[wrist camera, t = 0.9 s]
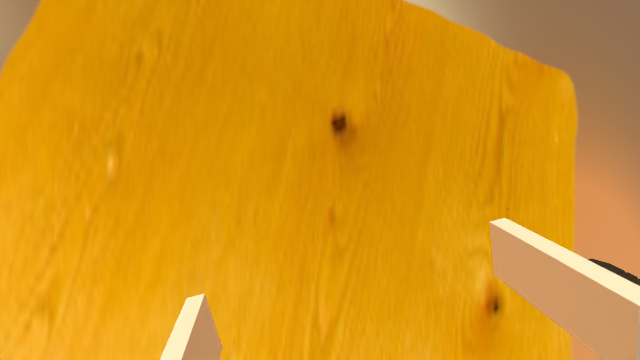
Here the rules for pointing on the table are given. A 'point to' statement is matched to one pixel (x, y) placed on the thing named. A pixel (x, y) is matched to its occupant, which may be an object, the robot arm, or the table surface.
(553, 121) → the table surface
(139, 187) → the table surface
